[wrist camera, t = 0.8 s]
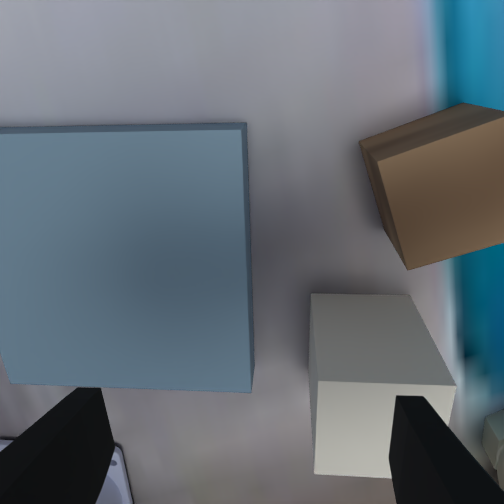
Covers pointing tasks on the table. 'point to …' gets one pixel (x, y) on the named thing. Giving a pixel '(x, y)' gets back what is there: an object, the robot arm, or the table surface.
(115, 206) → the base board
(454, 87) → the table surface
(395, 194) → the walnut block
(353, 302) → the white block
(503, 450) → the valve
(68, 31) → the table surface
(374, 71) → the table surface
